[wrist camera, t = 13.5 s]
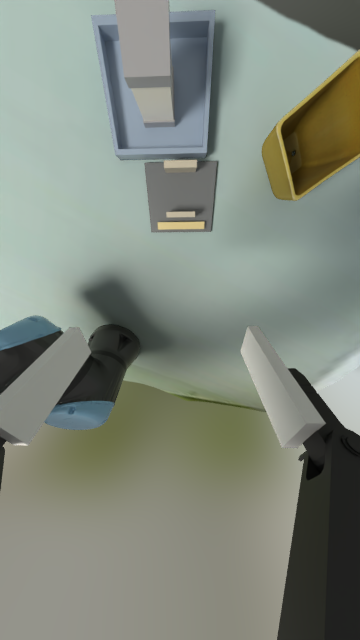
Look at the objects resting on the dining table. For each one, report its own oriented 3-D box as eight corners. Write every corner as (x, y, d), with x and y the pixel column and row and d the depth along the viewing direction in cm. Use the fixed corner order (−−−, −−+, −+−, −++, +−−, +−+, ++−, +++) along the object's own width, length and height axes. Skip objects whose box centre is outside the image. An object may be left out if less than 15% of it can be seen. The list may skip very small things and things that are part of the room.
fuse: (145, 127, 23) (124, 77, 15) (140, 76, 20) (112, -20, 12) (175, 127, 23) (170, 75, 15) (174, 75, 20) (167, -22, 12)
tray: (121, 160, 25) (115, 154, 23) (101, 37, 19) (91, 15, 17) (204, 158, 25) (206, 152, 23) (211, 32, 19) (215, 10, 17)
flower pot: (306, 100, 22) (371, 38, 14) (317, 168, 26) (372, 148, 18) (247, 152, 25) (275, 124, 17) (265, 206, 29) (294, 202, 21)
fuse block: (151, 232, 31) (148, 233, 28) (145, 163, 26) (140, 156, 23) (210, 231, 31) (213, 232, 28) (216, 162, 25) (220, 155, 22)
